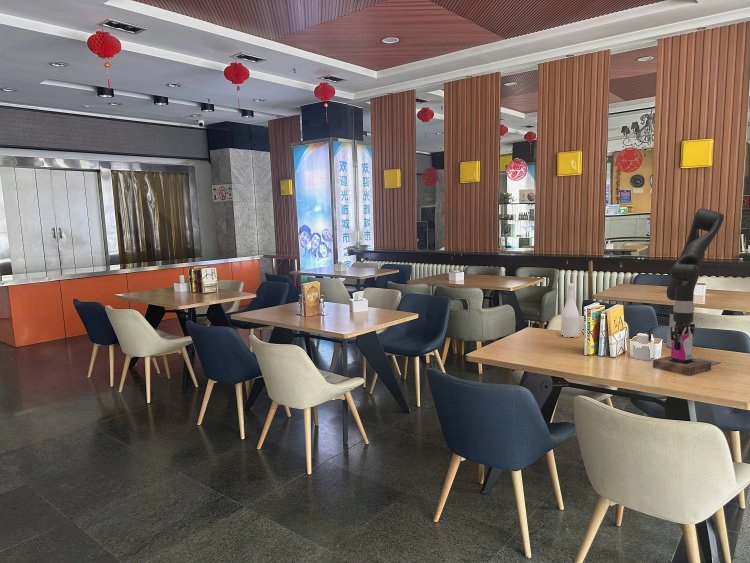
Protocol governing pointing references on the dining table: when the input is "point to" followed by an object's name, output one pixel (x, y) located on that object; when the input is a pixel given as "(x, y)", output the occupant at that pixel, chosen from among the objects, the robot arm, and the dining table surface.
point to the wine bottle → (570, 315)
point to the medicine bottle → (644, 351)
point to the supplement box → (683, 348)
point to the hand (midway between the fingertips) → (681, 348)
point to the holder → (682, 365)
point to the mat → (709, 361)
